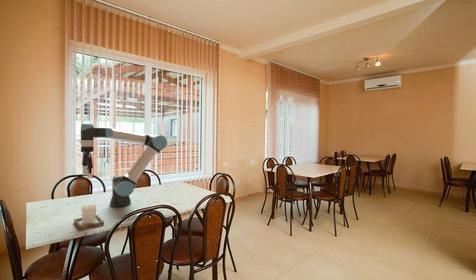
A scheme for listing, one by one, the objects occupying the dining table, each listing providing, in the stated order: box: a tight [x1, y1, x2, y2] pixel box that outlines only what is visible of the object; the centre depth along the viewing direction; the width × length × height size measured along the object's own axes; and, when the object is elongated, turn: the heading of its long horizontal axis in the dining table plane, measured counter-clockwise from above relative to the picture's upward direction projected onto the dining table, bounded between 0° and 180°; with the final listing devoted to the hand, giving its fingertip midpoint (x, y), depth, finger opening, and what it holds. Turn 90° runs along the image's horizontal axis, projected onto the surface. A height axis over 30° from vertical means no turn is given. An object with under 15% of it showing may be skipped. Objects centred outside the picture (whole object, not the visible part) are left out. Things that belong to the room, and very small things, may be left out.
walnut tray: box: [73, 214, 105, 231], centre depth 151 cm, size 13×16×2 cm
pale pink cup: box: [81, 204, 97, 224], centre depth 151 cm, size 8×8×10 cm
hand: (87, 176), depth 166 cm, fingers open, 13 cm apart
